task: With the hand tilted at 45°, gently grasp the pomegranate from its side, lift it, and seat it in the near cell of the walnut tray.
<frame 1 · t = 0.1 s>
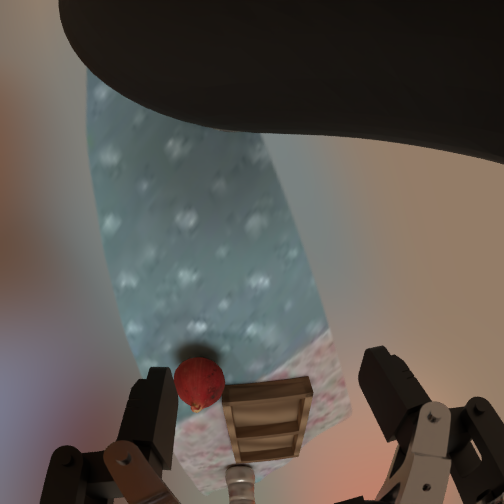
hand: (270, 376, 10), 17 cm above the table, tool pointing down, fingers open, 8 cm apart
pomegranate: (200, 358, 33), on the table
walnut tray: (265, 422, 40), on the table
plastic bottle: (239, 466, 49), on the table
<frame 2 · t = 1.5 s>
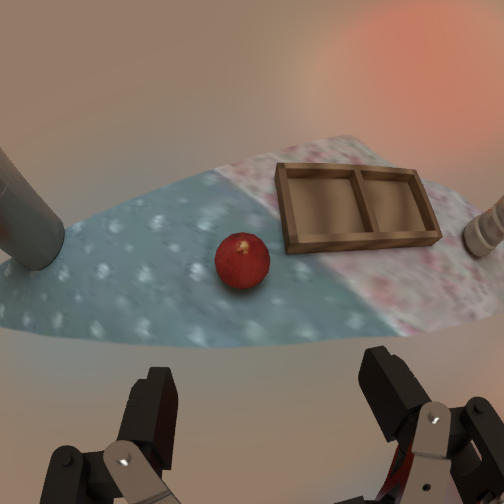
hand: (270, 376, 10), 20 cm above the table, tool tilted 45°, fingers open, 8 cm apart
pomegranate: (241, 273, 33), on the table
walnut tray: (359, 210, 38), on the table
plastic bottle: (471, 243, 37), on the table
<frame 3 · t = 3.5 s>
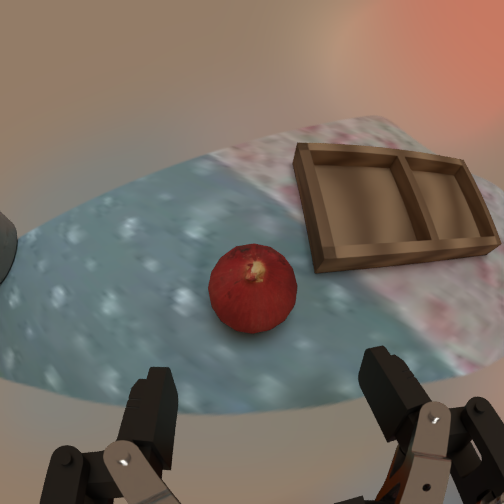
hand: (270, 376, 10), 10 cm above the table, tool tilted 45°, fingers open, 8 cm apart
pomegranate: (250, 302, 22), on the table
walnut tray: (405, 210, 26), on the table
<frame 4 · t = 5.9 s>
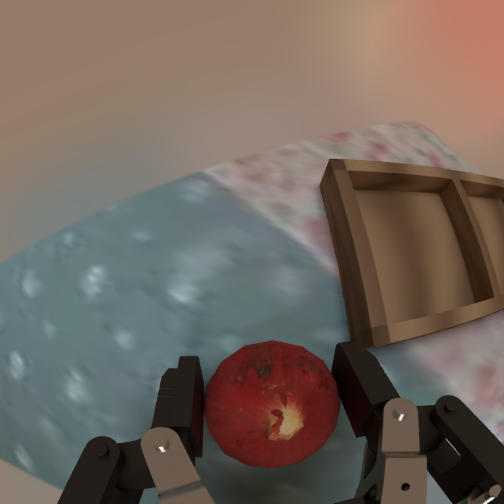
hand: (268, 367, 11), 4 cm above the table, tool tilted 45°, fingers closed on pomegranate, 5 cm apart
pomegranate: (264, 397, 14), on the table, touching gripper
walnut tray: (457, 249, 19), on the table
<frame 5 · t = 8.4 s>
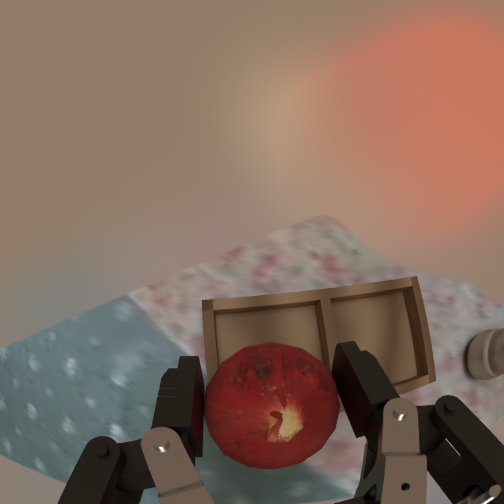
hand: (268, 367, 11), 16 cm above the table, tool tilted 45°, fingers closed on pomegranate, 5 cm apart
pomegranate: (263, 398, 14), point 12 cm above the table, touching gripper
walnut tray: (324, 352, 27), on the table
plastic bottle: (474, 357, 26), on the table
when the fingers open (7 cm above the table, at t = 11.4 s): pomegranate drops 1 cm, resting on walnut tray.
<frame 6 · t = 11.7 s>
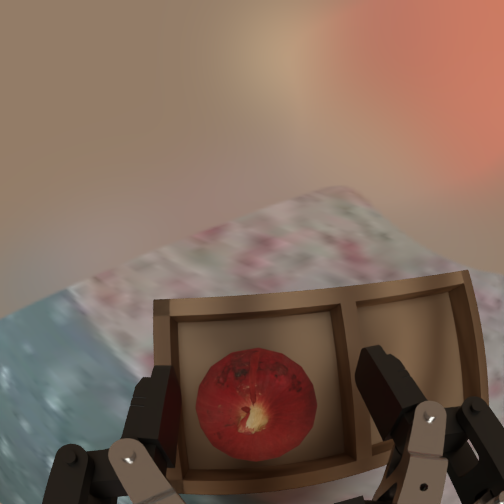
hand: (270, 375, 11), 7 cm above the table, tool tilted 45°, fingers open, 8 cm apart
pomegranate: (258, 399, 16), point 1 cm above the table, touching walnut tray
walnut tray: (342, 382, 17), on the table
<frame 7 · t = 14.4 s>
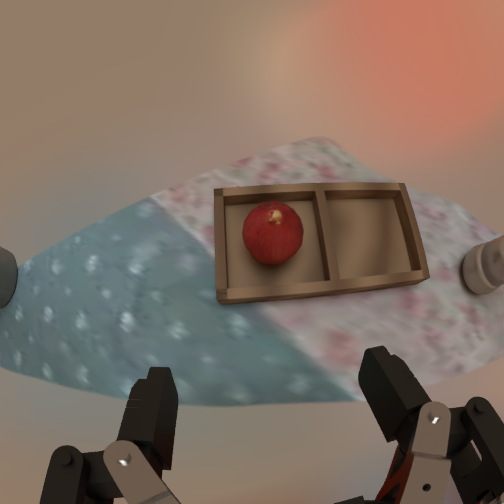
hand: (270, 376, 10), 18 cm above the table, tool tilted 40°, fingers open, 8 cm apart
pomegranate: (271, 246, 30), point 1 cm above the table, touching walnut tray
walnut tray: (321, 242, 31), on the table
plastic bottle: (471, 274, 30), on the table
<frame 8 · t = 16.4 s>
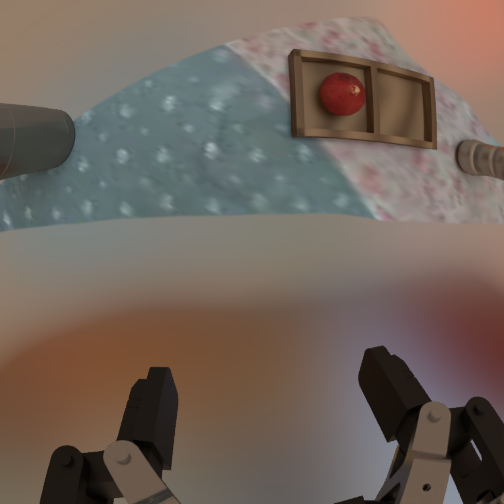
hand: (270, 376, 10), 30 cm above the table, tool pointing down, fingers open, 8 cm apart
pomegranate: (331, 98, 33), point 1 cm above the table, touching walnut tray
walnut tray: (366, 101, 34), on the table
plastic bottle: (463, 155, 38), on the table
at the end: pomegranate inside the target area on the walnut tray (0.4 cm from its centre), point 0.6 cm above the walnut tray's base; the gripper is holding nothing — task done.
